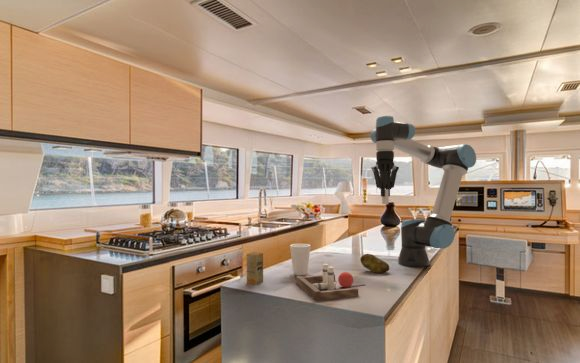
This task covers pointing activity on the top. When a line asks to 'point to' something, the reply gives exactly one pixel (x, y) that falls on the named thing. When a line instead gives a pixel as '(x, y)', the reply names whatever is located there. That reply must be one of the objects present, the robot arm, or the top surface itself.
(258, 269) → the shoe polish box
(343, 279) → the ball
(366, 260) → the potato
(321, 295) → the rail
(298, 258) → the foam cup
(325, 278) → the pin
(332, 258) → the top surface
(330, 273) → the pin
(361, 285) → the thin gray bar
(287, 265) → the top surface
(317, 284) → the front pin
